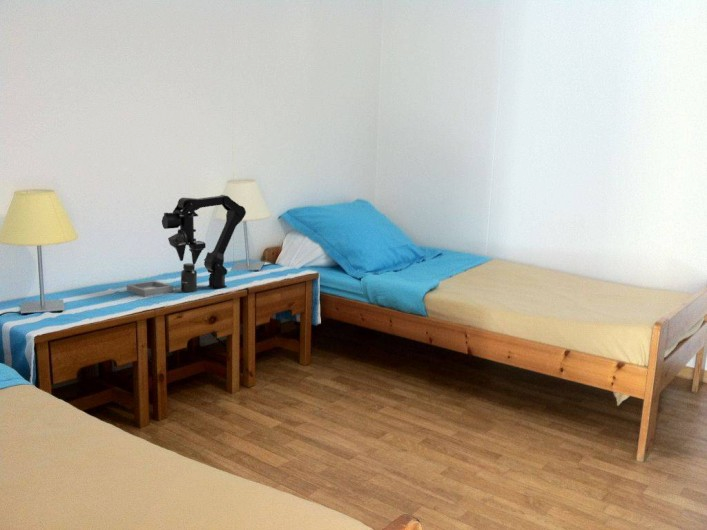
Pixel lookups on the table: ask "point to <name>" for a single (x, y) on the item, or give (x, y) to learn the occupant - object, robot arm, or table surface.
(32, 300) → the table surface
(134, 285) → the tray
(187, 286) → the supplement bottle
